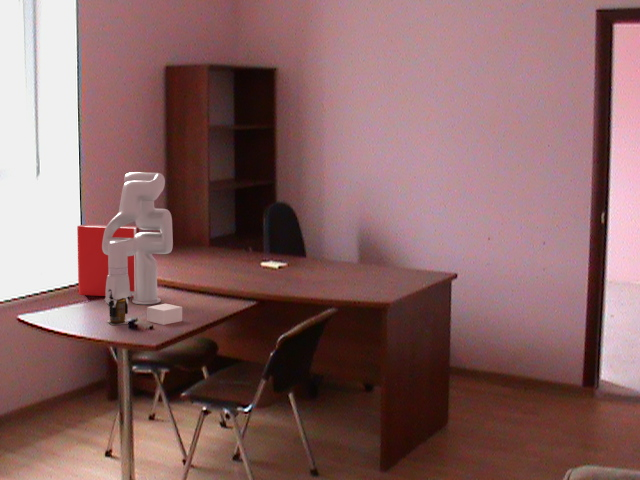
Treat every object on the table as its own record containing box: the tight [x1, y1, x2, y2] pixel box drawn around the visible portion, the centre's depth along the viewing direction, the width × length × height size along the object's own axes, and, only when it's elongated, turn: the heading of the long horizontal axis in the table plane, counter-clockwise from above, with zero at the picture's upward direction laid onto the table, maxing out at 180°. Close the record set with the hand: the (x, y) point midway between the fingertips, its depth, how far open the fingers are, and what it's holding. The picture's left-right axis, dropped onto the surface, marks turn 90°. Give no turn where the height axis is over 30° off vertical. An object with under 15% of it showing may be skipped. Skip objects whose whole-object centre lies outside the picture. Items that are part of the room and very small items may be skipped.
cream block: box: [146, 303, 183, 325], centre depth 375 cm, size 10×10×6 cm
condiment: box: [106, 298, 129, 326], centre depth 370 cm, size 7×8×12 cm
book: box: [77, 224, 140, 298], centre depth 426 cm, size 27×8×32 cm, turn 84°
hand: (118, 314), depth 371 cm, fingers closed on condiment, 6 cm apart
